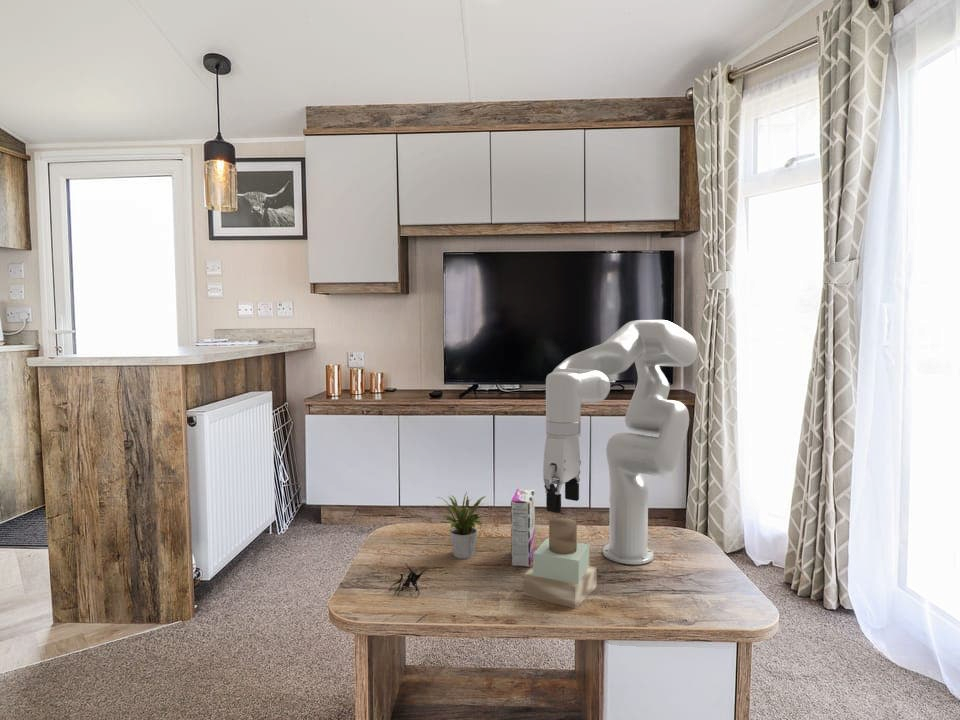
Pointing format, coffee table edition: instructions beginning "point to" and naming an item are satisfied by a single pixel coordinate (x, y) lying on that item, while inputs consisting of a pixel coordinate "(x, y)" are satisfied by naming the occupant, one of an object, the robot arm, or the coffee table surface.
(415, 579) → the creature
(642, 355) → the robot arm
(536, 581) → the tower base
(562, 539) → the walnut cylinder
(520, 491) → the candy bar box
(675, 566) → the coffee table surface
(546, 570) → the tower top
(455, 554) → the house plant
